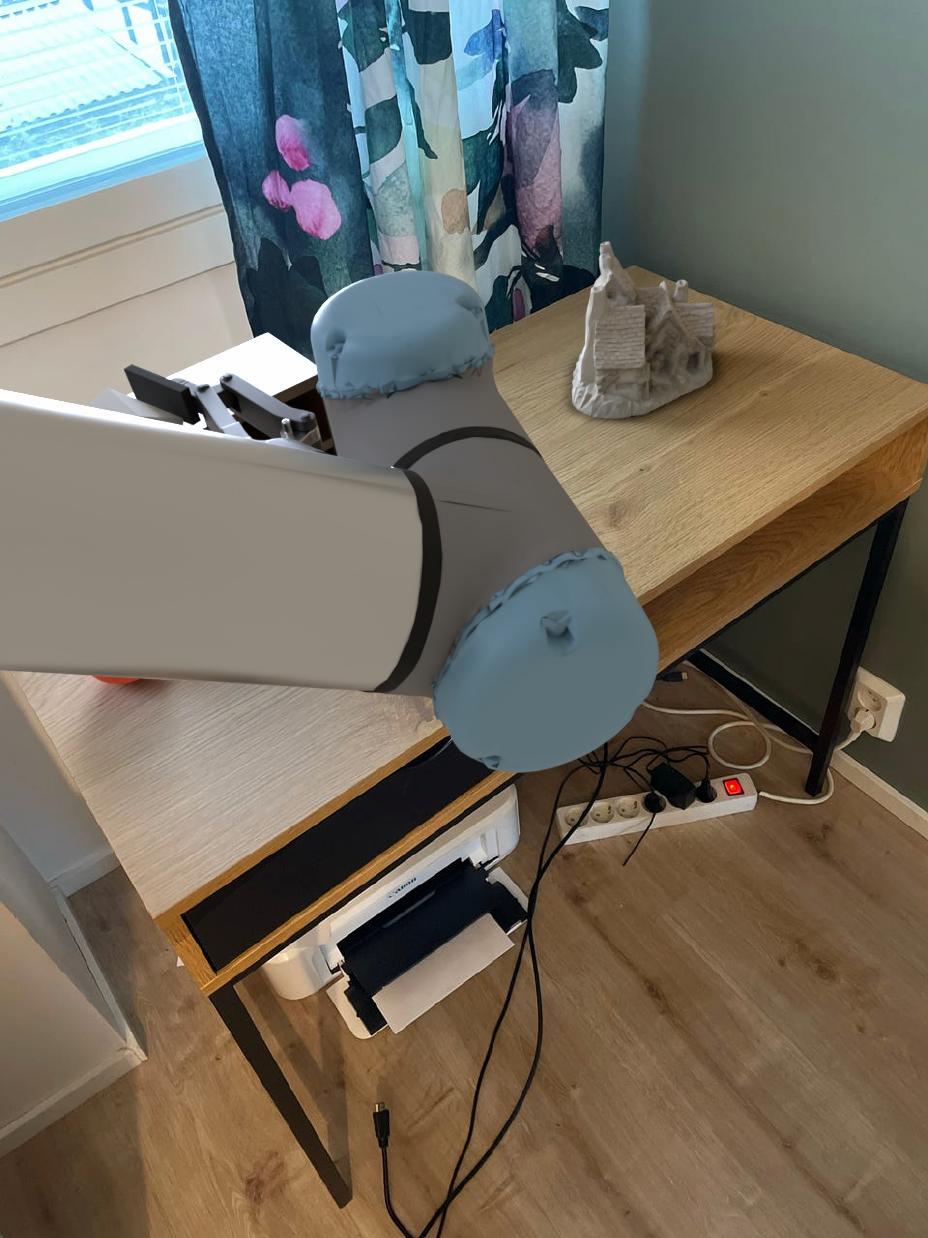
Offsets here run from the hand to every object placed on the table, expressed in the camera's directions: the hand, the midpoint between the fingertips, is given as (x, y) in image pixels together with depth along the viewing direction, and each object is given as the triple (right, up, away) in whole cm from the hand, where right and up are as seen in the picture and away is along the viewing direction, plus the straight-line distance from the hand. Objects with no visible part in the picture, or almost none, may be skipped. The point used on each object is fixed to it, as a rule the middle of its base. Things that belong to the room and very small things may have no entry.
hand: (86, 412), depth 63 cm
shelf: (+6, -2, +31) cm, 31 cm away
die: (+4, -7, +2) cm, 8 cm away
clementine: (-2, -19, +15) cm, 25 cm away
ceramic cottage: (+47, +12, +39) cm, 63 cm away
